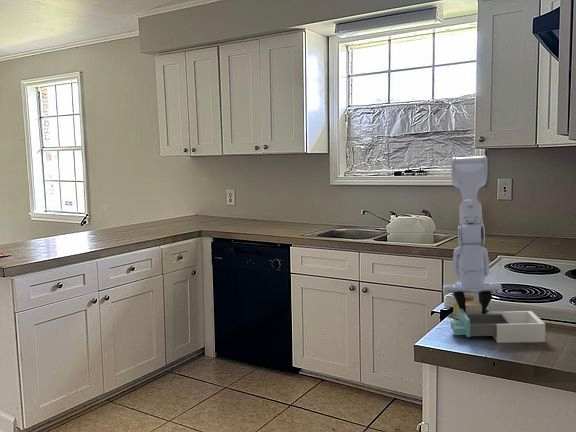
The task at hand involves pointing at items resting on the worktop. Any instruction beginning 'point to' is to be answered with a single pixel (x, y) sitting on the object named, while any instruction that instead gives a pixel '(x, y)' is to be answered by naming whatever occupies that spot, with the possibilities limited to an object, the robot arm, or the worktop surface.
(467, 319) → the tray
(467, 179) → the robot arm
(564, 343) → the worktop surface
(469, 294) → the supplement bottle
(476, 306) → the birch block
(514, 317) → the organiser box
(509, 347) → the worktop surface
